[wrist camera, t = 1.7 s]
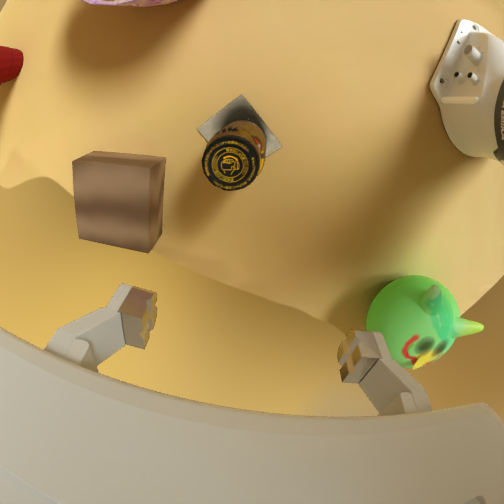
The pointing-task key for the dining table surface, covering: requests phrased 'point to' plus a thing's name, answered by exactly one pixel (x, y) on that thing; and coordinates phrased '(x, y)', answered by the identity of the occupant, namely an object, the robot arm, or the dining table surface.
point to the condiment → (236, 145)
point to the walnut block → (119, 199)
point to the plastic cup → (10, 63)
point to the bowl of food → (129, 2)
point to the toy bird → (417, 320)
